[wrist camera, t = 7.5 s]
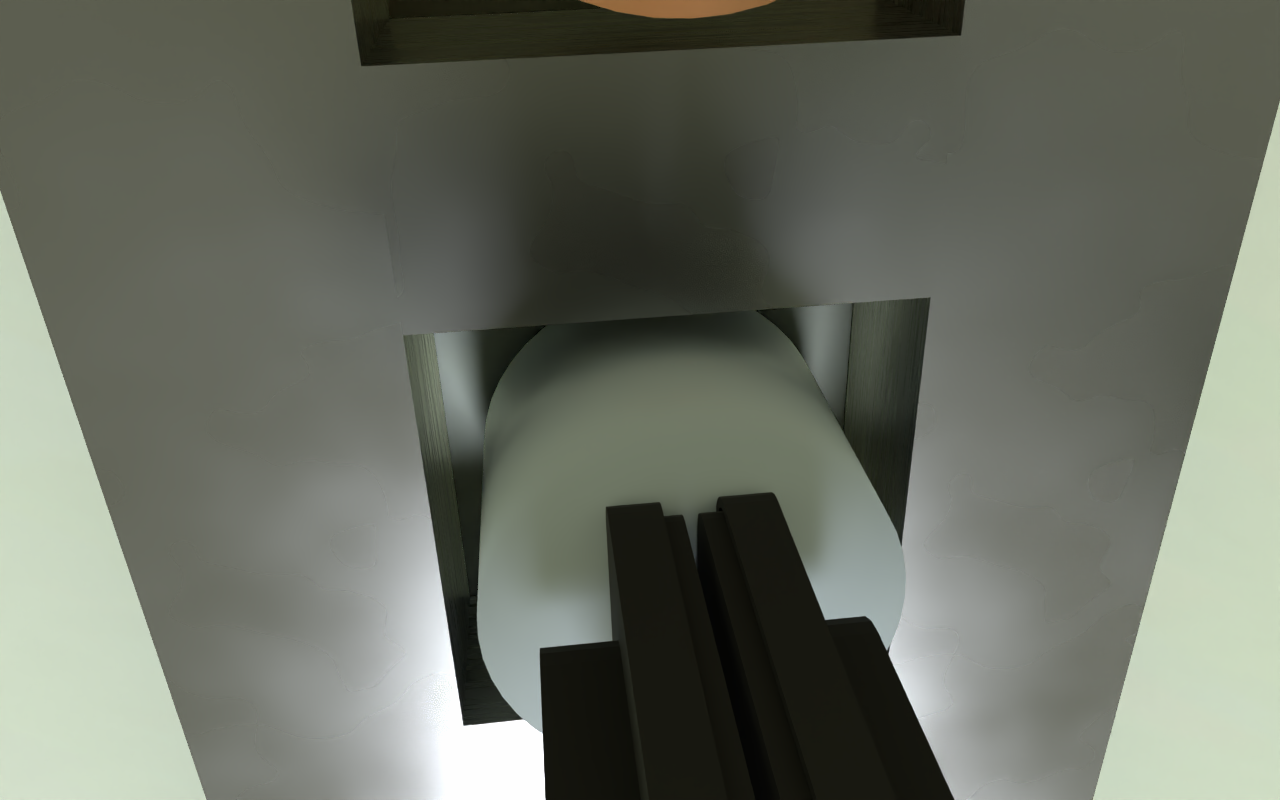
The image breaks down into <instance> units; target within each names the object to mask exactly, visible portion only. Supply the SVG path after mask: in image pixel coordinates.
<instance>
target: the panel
mask: <svg viewBox="0 0 1280 800" xmlns="http://www.w3.org/2000/svg"><path fill="white" fill-rule="evenodd" d="M1279 101H1280V0H777V1H774V2H772V3H769V4H767V5H763V6H759V7H755V8H751V9H747V10H744V11H740V12H736V13H732V14H726V15H718V16H710V17H701V18H693V19H689V18H652V17H646V16H640V15H634V14H627V13H621V12H616V11H612V10H609V9H606V8H599V9H578V10H558V11H537V12H516V13H495V14H474V15H453V16H433V17H412V18H391V19H390V17H389V10H388V3H387V0H0V191H1V194H2V196H3V199H4V202H5V205H6V208H7V211H8V214H9V217H10V220H11V223H12V226H13V229H14V232H15V235H16V238H17V241H18V244H19V247H20V250H21V253H22V256H23V259H24V261H25V264H26V267H27V270H28V273H29V276H30V279H31V282H32V285H33V288H34V291H35V294H36V297H37V300H38V303H39V306H40V309H41V312H42V315H43V318H44V321H45V324H46V326H47V329H48V332H49V335H50V338H51V341H52V344H53V347H54V350H55V353H56V356H57V359H58V362H59V365H60V368H61V371H62V374H63V377H64V380H65V383H66V386H67V389H68V391H69V394H70V397H71V400H72V403H73V406H74V409H75V412H76V415H77V418H78V421H79V424H80V427H81V430H82V433H83V436H84V439H85V442H86V445H87V448H88V451H89V454H90V456H91V459H92V462H93V465H94V468H95V471H96V474H97V477H98V480H99V483H100V486H101V489H102V492H103V495H104V498H105V501H106V504H107V507H108V510H109V513H110V516H111V519H112V521H113V524H114V527H115V530H116V533H117V536H118V539H119V542H120V545H121V548H122V551H123V554H124V557H125V560H126V563H127V566H128V569H129V572H130V575H131V578H132V581H133V584H134V586H135V589H136V592H137V595H138V598H139V601H140V604H141V607H142V610H143V613H144V616H145V619H146V622H147V625H148V628H149V631H150V634H151V637H152V640H153V643H154V646H155V649H156V651H157V654H158V657H159V660H160V663H161V666H162V669H163V672H164V675H165V678H166V681H167V684H168V687H169V690H170V693H171V696H172V699H173V702H174V705H175V708H176V711H177V714H178V716H179V719H180V722H181V725H182V728H183V731H184V734H185V737H186V740H187V743H188V746H189V749H190V752H191V755H192V758H193V761H194V764H195V767H196V770H197V773H198V776H199V779H200V781H201V784H202V787H203V790H204V793H205V796H206V799H207V800H545V784H544V758H543V734H542V733H540V732H539V731H537V730H536V729H534V728H533V727H532V726H531V725H529V724H528V723H527V722H526V721H525V720H524V719H523V718H521V717H520V716H519V715H518V714H517V713H516V712H515V711H514V710H513V708H512V707H511V706H510V705H509V704H508V703H507V702H506V700H505V699H504V698H503V697H502V695H501V694H500V692H499V690H498V689H497V687H496V686H495V684H494V682H493V681H492V679H491V677H490V675H489V672H488V670H487V667H486V665H485V663H484V660H483V657H482V653H481V648H480V644H479V639H478V627H477V600H478V596H470V593H469V586H468V578H467V571H466V564H465V557H464V550H463V542H462V535H461V528H460V521H459V514H458V506H457V499H456V492H455V485H454V478H453V470H452V463H451V456H450V449H449V442H448V434H447V427H446V420H445V413H444V406H443V398H442V391H441V384H440V377H439V370H438V362H437V355H436V348H435V341H434V334H433V333H443V332H457V331H471V330H485V329H499V328H512V327H526V326H540V325H554V324H568V323H582V322H596V321H610V320H623V319H637V318H651V317H665V316H679V315H693V314H707V313H721V312H734V311H748V310H762V309H776V308H790V307H804V306H818V305H831V304H845V303H854V305H853V318H852V331H851V344H850V357H849V370H848V382H847V395H846V408H845V421H844V434H845V436H846V438H847V440H848V442H849V444H850V445H851V447H852V449H853V451H854V453H855V455H856V457H857V458H858V460H859V462H860V464H861V466H862V468H863V469H864V471H865V473H866V475H867V477H868V479H869V480H870V482H871V484H872V486H873V488H874V490H875V492H876V493H877V495H878V497H879V499H880V501H881V503H882V504H883V506H884V508H885V510H886V512H887V514H888V516H889V518H890V520H891V522H892V524H893V526H894V528H895V530H896V532H897V534H898V538H899V541H900V544H901V547H902V551H903V555H904V563H905V571H906V585H905V599H904V604H903V609H902V614H901V618H900V621H899V624H898V627H897V629H896V632H895V635H894V638H893V640H892V642H891V644H890V646H889V647H888V649H887V653H888V655H889V657H890V659H891V661H892V664H893V666H894V668H895V670H896V672H897V674H898V677H899V679H900V681H901V683H902V685H903V688H904V690H905V692H906V694H907V696H908V699H909V701H910V703H911V705H912V707H913V710H914V712H915V714H916V716H917V718H918V721H919V723H920V725H921V727H922V729H923V732H924V734H925V736H926V738H927V740H928V743H929V745H930V747H931V749H932V751H933V754H934V756H935V758H936V760H937V762H938V765H939V767H940V769H941V771H942V773H943V776H944V778H945V780H946V782H947V784H948V787H949V789H950V791H951V793H952V795H953V798H954V800H1093V796H1094V793H1095V789H1096V785H1097V782H1098V778H1099V774H1100V770H1101V767H1102V763H1103V759H1104V755H1105V752H1106V748H1107V744H1108V740H1109V737H1110V733H1111V729H1112V726H1113V722H1114V718H1115V714H1116V711H1117V707H1118V703H1119V699H1120V696H1121V692H1122V688H1123V684H1124V681H1125V677H1126V673H1127V669H1128V666H1129V662H1130V658H1131V655H1132V651H1133V647H1134V643H1135V640H1136V636H1137V632H1138V628H1139V625H1140V621H1141V617H1142V613H1143V610H1144V606H1145V602H1146V598H1147V595H1148V591H1149V587H1150V584H1151V580H1152V576H1153V572H1154V569H1155V565H1156V561H1157V557H1158V554H1159V550H1160V546H1161V542H1162V539H1163V535H1164V531H1165V527H1166V524H1167V520H1168V516H1169V513H1170V509H1171V505H1172V501H1173V498H1174V494H1175V490H1176V486H1177V483H1178V479H1179V475H1180V471H1181V468H1182V464H1183V460H1184V456H1185V453H1186V449H1187V445H1188V442H1189V438H1190V434H1191V430H1192V427H1193V423H1194V419H1195V415H1196V412H1197V408H1198V404H1199V400H1200V397H1201V393H1202V389H1203V385H1204V382H1205V378H1206V374H1207V371H1208V367H1209V363H1210V359H1211V356H1212V352H1213V348H1214V344H1215V341H1216V337H1217V333H1218V329H1219V326H1220V322H1221V318H1222V314H1223V311H1224V307H1225V303H1226V300H1227V296H1228V292H1229V288H1230V285H1231V281H1232V277H1233V273H1234V270H1235V266H1236V262H1237V258H1238V255H1239V251H1240V247H1241V243H1242V240H1243V236H1244V232H1245V229H1246V225H1247V221H1248V217H1249V214H1250V210H1251V206H1252V202H1253V199H1254V195H1255V191H1256V187H1257V184H1258V180H1259V176H1260V172H1261V169H1262V165H1263V161H1264V158H1265V154H1266V150H1267V146H1268V143H1269V139H1270V135H1271V131H1272V128H1273V124H1274V120H1275V116H1276V113H1277V109H1278V105H1279Z"/></svg>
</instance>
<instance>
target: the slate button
mask: <svg viewBox="0 0 1280 800" xmlns="http://www.w3.org/2000/svg"><path fill="white" fill-rule="evenodd" d="M767 492H772V493H774V494H775V496H776V498H777V499H778V502H779V504H780V507H781V509H782V512H783V515H784V517H785V520H786V522H787V525H788V527H789V530H790V532H791V535H792V537H793V540H794V542H795V545H796V547H797V550H798V552H799V555H800V557H801V560H802V562H803V565H804V567H805V570H806V573H807V575H808V578H809V580H810V583H811V585H812V588H813V590H814V593H815V595H816V598H817V600H818V603H819V605H820V608H821V610H822V613H823V615H824V618H825V620H829V619H840V618H850V617H860V616H866V617H867V618H869V619H870V620H871V621H872V622H873V624H874V626H875V628H876V629H877V631H878V633H879V635H880V637H881V639H882V642H883V644H884V646H885V648H886V650H887V649H888V647H889V646H890V644H891V642H892V640H893V638H894V635H895V632H896V629H897V627H898V624H899V621H900V618H901V614H902V609H903V604H904V599H905V585H906V571H905V563H904V555H903V551H902V547H901V544H900V541H899V538H898V534H897V532H896V530H895V528H894V526H893V524H892V522H891V520H890V518H889V516H888V514H887V512H886V510H885V508H884V506H883V504H882V503H881V501H880V499H879V497H878V495H877V493H876V492H875V490H874V488H873V486H872V484H871V482H870V480H869V479H868V477H867V475H866V473H865V471H864V469H863V468H862V466H861V464H860V462H859V460H858V458H857V457H856V455H855V453H854V451H853V449H852V447H851V445H850V444H849V442H848V440H847V438H846V436H845V434H844V433H843V431H842V429H841V427H840V425H839V423H838V421H837V420H836V418H835V416H834V414H833V412H832V410H831V409H830V407H829V405H828V403H827V401H826V399H825V398H824V396H823V394H822V392H821V390H820V388H819V386H818V385H817V383H816V381H815V379H814V377H813V375H812V374H811V372H810V370H809V368H808V366H807V364H806V362H805V361H804V359H803V357H802V356H801V354H800V353H799V351H798V350H797V349H796V347H795V346H794V344H793V343H792V342H791V340H790V339H789V338H788V337H787V336H786V335H785V334H784V333H783V332H782V331H781V330H780V329H779V328H778V327H777V326H776V325H774V324H773V323H772V322H770V321H769V320H768V319H766V318H765V317H764V316H762V315H761V314H760V313H758V312H756V311H754V310H748V311H734V312H721V313H707V314H693V315H679V316H665V317H651V318H637V319H623V320H610V321H596V322H582V323H568V324H554V325H547V326H546V327H544V328H543V329H542V330H541V331H539V332H538V333H537V334H536V335H535V336H534V337H533V338H532V339H531V340H530V341H529V342H528V343H527V344H525V346H524V347H523V348H522V349H521V350H520V352H519V353H518V354H517V355H516V356H515V358H514V359H513V360H512V361H511V363H510V364H509V366H508V368H507V369H506V371H505V372H504V374H503V376H502V377H501V379H500V381H499V383H498V385H497V388H496V390H495V392H494V395H493V397H492V399H491V403H490V407H489V410H488V414H487V418H486V426H485V435H484V454H483V478H482V503H481V527H480V551H479V575H478V600H477V627H478V639H479V644H480V648H481V653H482V657H483V660H484V663H485V665H486V667H487V670H488V672H489V675H490V677H491V679H492V681H493V682H494V684H495V686H496V687H497V689H498V690H499V692H500V694H501V695H502V697H503V698H504V699H505V700H506V702H507V703H508V704H509V705H510V706H511V707H512V708H513V710H514V711H515V712H516V713H517V714H518V715H519V716H520V717H521V718H523V719H524V720H525V721H526V722H527V723H528V724H529V725H531V726H532V727H533V728H534V729H536V730H537V731H539V732H540V733H542V707H541V682H540V648H545V647H555V646H566V645H576V644H586V643H596V642H606V641H612V624H611V605H610V587H609V569H608V551H607V532H606V507H607V506H619V505H630V504H641V503H653V502H660V503H661V506H662V510H663V514H664V516H671V515H683V516H684V520H685V523H686V527H687V531H688V535H689V539H690V543H691V547H692V551H693V555H694V559H695V563H696V567H697V522H698V514H699V513H705V512H716V504H717V499H718V498H719V497H721V496H733V495H744V494H755V493H767ZM542 734H543V733H542Z"/></svg>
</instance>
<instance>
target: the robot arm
mask: <svg viewBox="0 0 1280 800" xmlns="http://www.w3.org/2000/svg"><path fill="white" fill-rule="evenodd" d="M606 532H607V551H608V569H609V587H610V605H611V624H612V641H606V642H596V643H586V644H576V645H566V646H555V647H545V648H540V682H541V707H542V733H543V758H544V784H545V800H954V798H953V795H952V793H951V791H950V789H949V787H948V784H947V782H946V780H945V778H944V776H943V773H942V771H941V769H940V767H939V765H938V762H937V760H936V758H935V756H934V754H933V751H932V749H931V747H930V745H929V743H928V740H927V738H926V736H925V734H924V732H923V729H922V727H921V725H920V723H919V721H918V718H917V716H916V714H915V712H914V710H913V707H912V705H911V703H910V701H909V699H908V696H907V694H906V692H905V690H904V688H903V685H902V683H901V681H900V679H899V677H898V674H897V672H896V670H895V668H894V666H893V664H892V661H891V659H890V657H889V655H888V653H887V650H886V648H885V646H884V644H883V642H882V639H881V637H880V635H879V633H878V631H877V629H876V628H875V626H874V624H873V622H872V621H871V620H870V619H869V618H867V617H866V616H860V617H850V618H840V619H829V620H825V618H824V615H823V613H822V610H821V608H820V605H819V603H818V600H817V598H816V595H815V593H814V590H813V588H812V585H811V583H810V580H809V578H808V575H807V573H806V570H805V567H804V565H803V562H802V560H801V557H800V555H799V552H798V550H797V547H796V545H795V542H794V540H793V537H792V535H791V532H790V530H789V527H788V525H787V522H786V520H785V517H784V515H783V512H782V509H781V507H780V504H779V502H778V499H777V498H776V496H775V494H774V493H772V492H767V493H755V494H744V495H733V496H721V497H719V498H718V499H717V504H716V512H705V513H699V514H698V522H697V567H696V563H695V559H694V555H693V551H692V547H691V543H690V539H689V535H688V531H687V527H686V523H685V520H684V516H683V515H671V516H664V514H663V510H662V506H661V503H660V502H653V503H641V504H630V505H619V506H607V507H606Z"/></svg>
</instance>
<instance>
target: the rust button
mask: <svg viewBox="0 0 1280 800" xmlns="http://www.w3.org/2000/svg"><path fill="white" fill-rule="evenodd" d="M580 1H583V2H586V3H589V4H593V5H596V6H599V7H602V8H606V9H609V10H612V11H616V12H621V13H627V14H634V15H640V16H646V17H652V18H689V19H693V18H701V17H710V16H718V15H726V14H732V13H736V12H740V11H744V10H747V9H751V8H755V7H759V6H763V5H767V4H769V3H772V2H774V1H777V0H580Z"/></svg>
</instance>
